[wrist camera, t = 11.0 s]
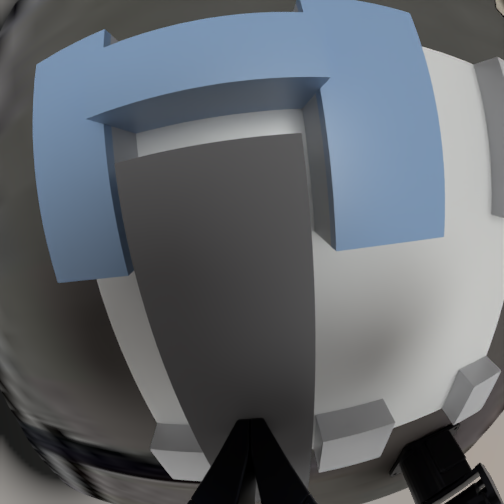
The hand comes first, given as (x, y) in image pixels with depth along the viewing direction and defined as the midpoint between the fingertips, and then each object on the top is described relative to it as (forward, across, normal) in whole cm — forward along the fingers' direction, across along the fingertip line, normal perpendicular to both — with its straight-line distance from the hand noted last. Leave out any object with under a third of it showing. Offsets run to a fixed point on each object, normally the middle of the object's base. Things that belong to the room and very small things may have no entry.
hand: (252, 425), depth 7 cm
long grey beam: (+4, 0, 0) cm, 4 cm away
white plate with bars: (+5, -5, -2) cm, 7 cm away
